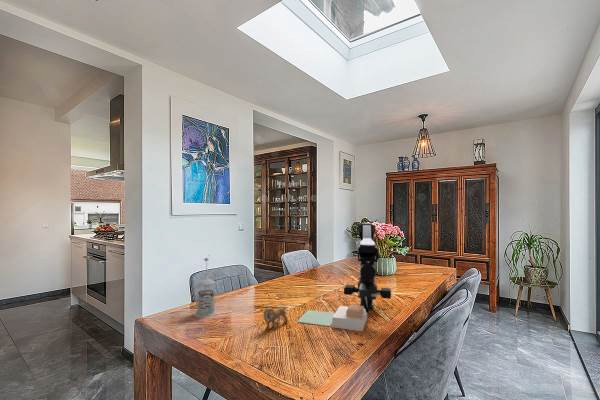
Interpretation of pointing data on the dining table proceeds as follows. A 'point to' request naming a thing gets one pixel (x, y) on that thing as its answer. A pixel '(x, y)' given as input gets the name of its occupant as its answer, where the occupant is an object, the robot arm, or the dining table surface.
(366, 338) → the dining table surface
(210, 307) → the french press
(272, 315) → the lion figurine
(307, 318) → the mat
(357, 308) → the tile
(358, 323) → the board
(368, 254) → the robot arm
